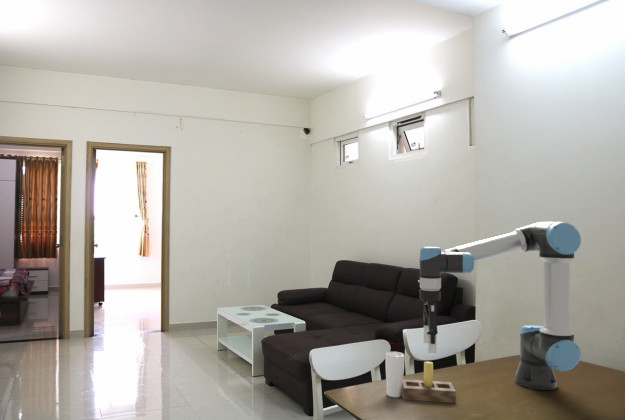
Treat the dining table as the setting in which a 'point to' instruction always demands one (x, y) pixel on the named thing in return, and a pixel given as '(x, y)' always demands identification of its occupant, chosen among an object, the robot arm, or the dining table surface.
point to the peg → (428, 374)
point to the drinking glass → (394, 373)
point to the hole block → (428, 391)
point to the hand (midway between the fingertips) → (429, 347)
